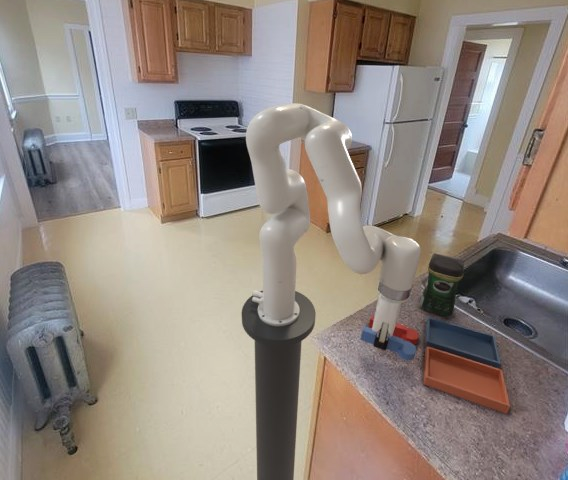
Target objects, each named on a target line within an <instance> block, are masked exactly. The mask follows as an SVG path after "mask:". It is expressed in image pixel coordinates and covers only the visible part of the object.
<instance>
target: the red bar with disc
mask: <svg viewBox="0 0 568 480" xmlns="http://www.w3.org/2000/svg"><path fill="white" fill-rule="evenodd" d="M374 317H375V315H370V317H369V322H368V327H369V328H372V326H373V322H374ZM393 336H396V337H398V338H401V339H403V341H408V342H410V343H412V344H413V345H414V346H415V345H417V343H418V341H419V338H420V335H419V332H418V331H417V330H415V329H414V328H411V327H408V325H405V324H402V323H398V322H397V323H396V326H395V329H394V332H393Z"/></svg>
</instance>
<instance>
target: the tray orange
mask: <svg viewBox="0 0 568 480" xmlns="http://www.w3.org/2000/svg"><path fill="white" fill-rule="evenodd" d="M423 364H424V365H423V385H424V386H427V387H430V388H433V389H436V390H438V391H442V392H444V393H447V394H450V395H452V396H455V397H458V398H461V399H463V400H466V401H469V402H472V403H475V404H478V405H480V406H484V407H486V408H489V409H492V410H495V411H498V412H499V413H503V414H506V415H507V414H508V413H509V411H510V408H511V403H510V399H509V395H508V391H507V385H506V380H505V376H504V371H503V369H501V368H499V369H498V368H495V367H492V366H489V365H485V364H482V363H479V362H476V361H473V360H470V359H466V358H463V357H460V356H457V355H454V354H450V353H447V352H444V351H441V350H438V349H434V348H431V347H428V346H427V347H426V348H425V352H424V363H423Z"/></svg>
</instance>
